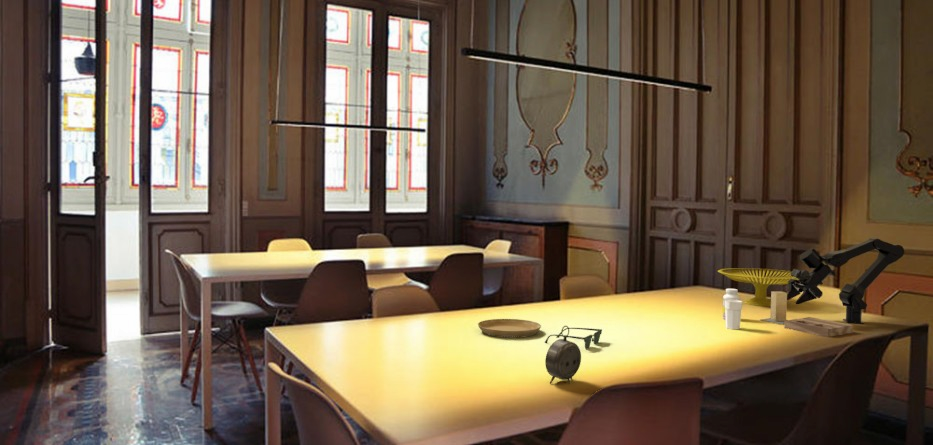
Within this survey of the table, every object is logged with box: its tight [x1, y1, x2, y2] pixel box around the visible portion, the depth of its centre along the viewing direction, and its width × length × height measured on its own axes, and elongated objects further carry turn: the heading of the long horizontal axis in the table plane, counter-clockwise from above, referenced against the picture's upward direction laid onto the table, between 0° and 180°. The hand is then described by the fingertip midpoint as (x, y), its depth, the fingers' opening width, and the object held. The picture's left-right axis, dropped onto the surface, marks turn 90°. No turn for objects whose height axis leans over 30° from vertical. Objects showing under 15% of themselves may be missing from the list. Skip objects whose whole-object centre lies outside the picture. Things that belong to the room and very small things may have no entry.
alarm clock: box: [544, 325, 582, 385], centre depth 190 cm, size 11×5×16 cm, turn 129°
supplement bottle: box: [722, 288, 741, 320], centre depth 286 cm, size 7×7×13 cm
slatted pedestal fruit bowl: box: [717, 267, 799, 307], centre depth 326 cm, size 40×40×15 cm
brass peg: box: [770, 290, 788, 322], centre depth 281 cm, size 4×4×12 cm
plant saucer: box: [477, 318, 542, 339], centre depth 255 cm, size 24×24×3 cm
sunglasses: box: [544, 327, 603, 350], centre depth 238 cm, size 16×17×5 cm
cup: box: [724, 299, 743, 330], centre depth 267 cm, size 7×7×11 cm
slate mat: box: [759, 317, 785, 325], centre depth 282 cm, size 10×10×1 cm
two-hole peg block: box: [783, 316, 854, 338], centre depth 265 cm, size 16×18×3 cm
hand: (790, 302), depth 281 cm, fingers open, 9 cm apart
